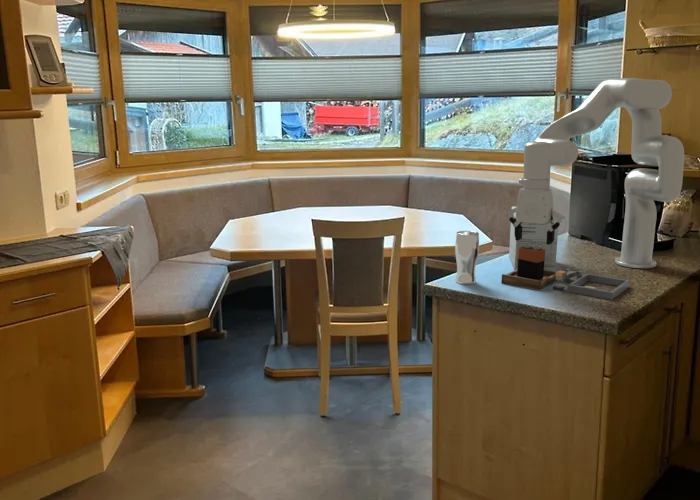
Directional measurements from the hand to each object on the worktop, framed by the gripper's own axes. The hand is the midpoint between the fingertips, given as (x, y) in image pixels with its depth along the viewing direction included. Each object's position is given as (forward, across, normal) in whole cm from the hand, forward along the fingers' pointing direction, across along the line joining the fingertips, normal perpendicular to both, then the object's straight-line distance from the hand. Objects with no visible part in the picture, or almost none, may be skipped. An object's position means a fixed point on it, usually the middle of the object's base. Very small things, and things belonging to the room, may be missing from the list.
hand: (533, 241), depth 200 cm
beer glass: (+12, -16, -13) cm, 23 cm away
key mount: (+13, +9, +3) cm, 16 cm away
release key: (+10, +10, +2) cm, 14 cm away
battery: (+11, 0, -1) cm, 11 cm away
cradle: (+13, +18, +4) cm, 23 cm away
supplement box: (+13, -8, +19) cm, 25 cm away
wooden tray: (+12, 0, -1) cm, 12 cm away
